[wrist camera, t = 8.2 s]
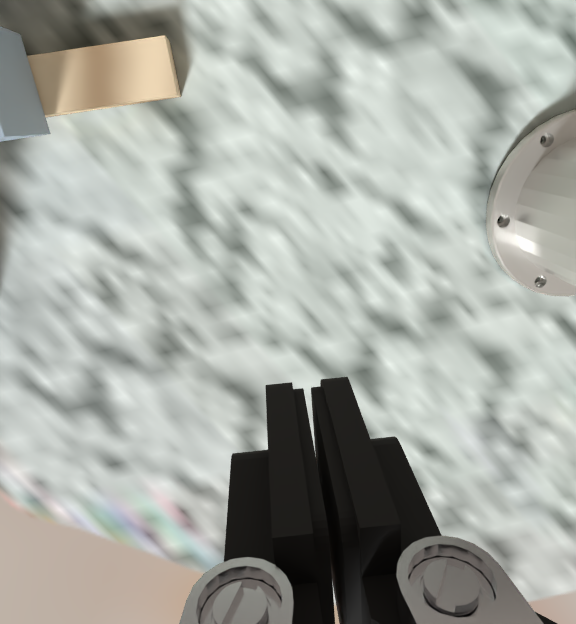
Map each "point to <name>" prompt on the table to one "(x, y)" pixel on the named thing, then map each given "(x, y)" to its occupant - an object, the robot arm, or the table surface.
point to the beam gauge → (105, 76)
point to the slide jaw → (18, 92)
